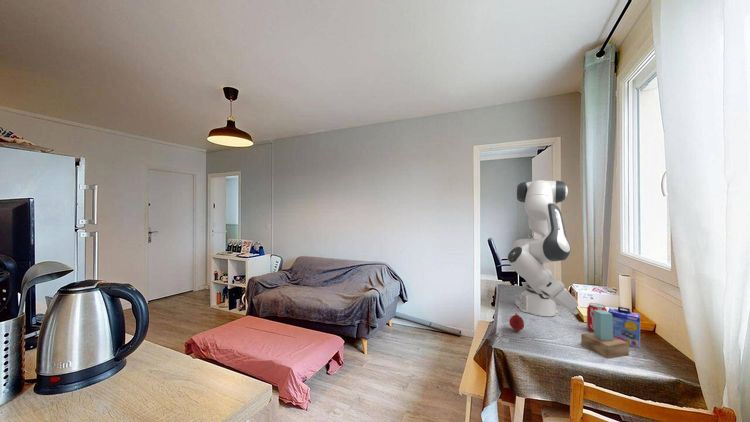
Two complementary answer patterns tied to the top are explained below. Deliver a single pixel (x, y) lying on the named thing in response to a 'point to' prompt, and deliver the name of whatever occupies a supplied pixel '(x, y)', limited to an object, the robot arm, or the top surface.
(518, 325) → the onion
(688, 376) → the top surface
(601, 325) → the teal block
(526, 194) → the robot arm
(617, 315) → the ink cartridge box
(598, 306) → the soda can
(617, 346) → the walnut block
